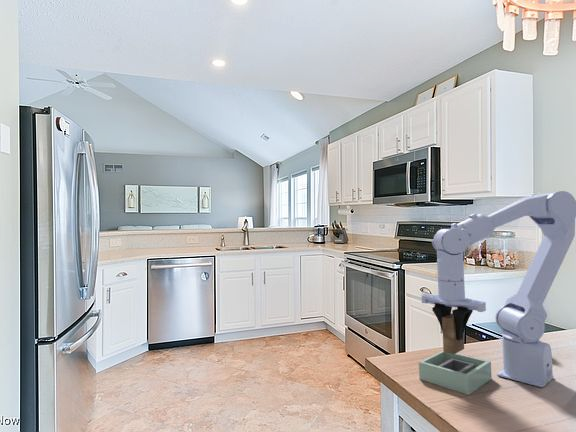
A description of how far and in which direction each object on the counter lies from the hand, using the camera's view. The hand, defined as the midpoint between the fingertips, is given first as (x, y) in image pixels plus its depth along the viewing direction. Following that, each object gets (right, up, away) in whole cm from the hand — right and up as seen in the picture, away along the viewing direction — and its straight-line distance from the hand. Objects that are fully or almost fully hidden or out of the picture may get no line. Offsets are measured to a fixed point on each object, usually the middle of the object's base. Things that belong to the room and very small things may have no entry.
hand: (453, 337), depth 90 cm
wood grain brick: (0, -3, 0) cm, 3 cm away
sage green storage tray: (0, -10, 0) cm, 10 cm away
